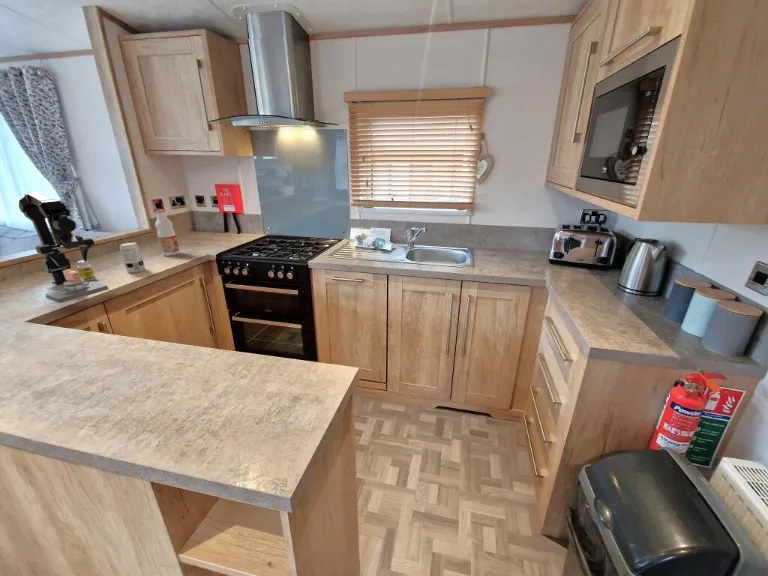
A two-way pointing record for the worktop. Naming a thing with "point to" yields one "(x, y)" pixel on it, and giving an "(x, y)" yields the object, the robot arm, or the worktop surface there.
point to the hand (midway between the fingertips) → (73, 264)
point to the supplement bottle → (85, 270)
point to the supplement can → (132, 257)
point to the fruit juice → (166, 234)
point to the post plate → (76, 292)
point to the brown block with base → (73, 281)
